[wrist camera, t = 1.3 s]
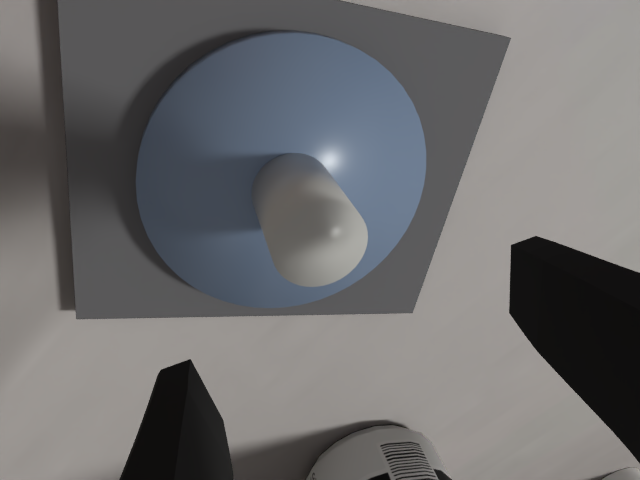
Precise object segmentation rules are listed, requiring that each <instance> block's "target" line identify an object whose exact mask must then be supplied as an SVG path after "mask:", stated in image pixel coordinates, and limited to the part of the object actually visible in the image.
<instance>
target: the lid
mask: <svg viewBox="0 0 640 480" xmlns="http://www.w3.org/2000/svg"><path fill="white" fill-rule="evenodd" d="M425 174H426V146H425V138H424V133H423V129H422V125H421V122H420V118H419V116H418V114H417V111H416V109H415V107H414V104H413V102H412V100H411V99H410V97H409V96H408V94H407V92H406V91H405V89H404V88H403V86H402V85H401V84H400V83H399V82H398V80H397V79H396V78H395V77H394V76H393V75H392V73H391V72H389V71H388V70H387V69H386V68H385V67H384V66H382V65H381V64H380V63H379V62H378V61H377V60H375V59H374V58H372V57H370V56H369V55H367V54H366V53H364V52H362V51H361V50H359V49H357V48H355V47H353V46H351V45H349V44H347V43H344V42H342V41H340V40H337V39H335V38H332V37H329V36H325V35H321V34H317V33H313V32H304V31H295V30H284V31H268V32H263V33H257V34H252V35H248V36H245V37H242V38H239V39H236V40H233V41H230V42H228V43H226V44H224V45H222V46H220V47H218V48H216V49H214V50H212V51H210V52H208V53H207V54H205V55H204V56H202V57H201V58H199V59H198V60H196V61H195V62H194V63H192V64H191V65H190V66H189V67H188V68H187V69H185V70H184V71H183V72H182V73H181V74H180V75H179V76H178V77H177V78H176V79H175V80H174V81H173V82H172V84H171V85H170V86H169V87H168V89H167V90H166V91H165V92H164V93H163V95H162V96H161V98H160V99H159V101H158V103H157V104H156V106H155V108H154V110H153V111H152V113H151V115H150V117H149V120H148V122H147V125H146V127H145V130H144V132H143V136H142V140H141V144H140V148H139V153H138V160H137V171H136V195H137V203H138V208H139V212H140V217H141V220H142V223H143V225H144V228H145V231H146V233H147V236H148V238H149V239H150V241H151V243H152V245H153V246H154V248H155V250H156V251H157V253H158V254H159V255H160V257H161V258H162V259H163V260H164V262H165V263H166V264H167V265H168V266H169V267H170V268H171V269H172V270H173V271H174V272H175V273H176V274H177V275H178V276H179V277H180V278H182V279H183V280H184V281H186V282H187V283H188V284H190V285H191V286H193V287H194V288H196V289H198V290H200V291H201V292H203V293H205V294H207V295H209V296H212V297H214V298H217V299H219V300H222V301H225V302H229V303H232V304H236V305H241V306H248V307H254V308H281V307H291V306H297V305H302V304H306V303H310V302H313V301H317V300H320V299H323V298H325V297H328V296H330V295H333V294H335V293H337V292H339V291H341V290H343V289H345V288H347V287H349V286H351V285H352V284H354V283H355V282H357V281H358V280H360V279H361V278H363V277H364V276H365V275H367V274H368V273H369V272H370V271H372V270H373V269H374V268H375V267H376V266H378V265H379V264H380V263H381V262H382V261H383V260H384V259H385V258H386V257H387V256H388V254H389V253H390V252H391V251H392V250H393V248H394V247H395V246H396V245H397V244H398V242H399V241H400V239H401V238H402V236H403V235H404V233H405V232H406V230H407V228H408V226H409V225H410V223H411V221H412V219H413V217H414V215H415V212H416V210H417V207H418V204H419V202H420V198H421V195H422V191H423V187H424V181H425Z"/></svg>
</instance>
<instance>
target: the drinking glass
mask: <svg viewBox="0 0 640 480" xmlns="http://www.w3.org/2000/svg"><path fill="white" fill-rule="evenodd" d="M602 480H640V471H639V470H638V469H637V468H626V469H622V470H618V471H616V472H614V473H612V474H610V475H608V476H606V477H605V478H603V479H602Z"/></svg>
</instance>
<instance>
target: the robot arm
mask: <svg viewBox="0 0 640 480" xmlns="http://www.w3.org/2000/svg"><path fill="white" fill-rule="evenodd" d="M509 313H510V314H511V316H512V317H513V319H514V320H515V322H516V323H517V324H518V326H519V327H520V329H521V330H522V332H523V333H524V334H525V336H526V337H527V338H528V340H529V341H530V342H531V344H532V345H533V346H534V348H535V349H536V350H537V351H538V352H539V354H540V355H541V356H542V357H543V358H544V359H545V360H546V361H547V362H548V363H549V364H550V366H551V367H552V368H553V369H554V370H555V371H556V372H557V373H558V374H559V375H560V376H561V377H562V378H563V379H564V380H565V382H566V383H567V384H568V385H569V386H570V387H571V388H572V389H573V390H574V391H575V392H576V393H577V394H578V395H579V396H580V397H581V398H582V399H583V401H584V402H585V403H586V404H587V405H588V406H589V407H590V408H591V409H592V410H593V411H594V412H595V413H596V414H597V415H598V416H599V417H600V418H601V420H602V421H603V422H604V423H605V424H606V425H607V426H608V427H609V428H610V429H611V430H612V431H613V432H614V433H615V435H616V436H617V437H618V438H619V439H620V440H621V441H622V442H623V444H624V445H625V446H626V447H627V448H628V449H629V450H630V452H631V453H632V454H633V455H634V457H635V458H636V459H637V460H638V462H639V463H640V273H638V272H635V271H632V270H630V269H627V268H624V267H621V266H618V265H616V264H613V263H610V262H607V261H605V260H602V259H599V258H597V257H594V256H591V255H589V254H586V253H583V252H580V251H578V250H575V249H572V248H569V247H567V246H564V245H561V244H558V243H556V242H553V241H550V240H547V239H544V238H540V237H537V236H535V237H532V238H529V239H527V240H524V241H521V242H518V243H515V244H513V245H511V271H510V307H509ZM120 480H233V471H232V464H231V458H230V453H229V448H228V442H227V437H226V432H225V427H224V422H223V419H222V417H221V415H220V413H219V412H218V410H217V408H216V406H215V404H214V402H213V400H212V398H211V397H210V395H209V393H208V391H207V389H206V387H205V385H204V384H203V382H202V380H201V378H200V376H199V374H198V372H197V370H196V369H195V367H194V365H193V363H192V361H191V359H190V360H187V361H184V362H181V363H179V364H176V365H173V366H170V367H167V368H165V369H162V370H161V371H160V372H159V374H158V376H157V379H156V382H155V385H154V388H153V391H152V394H151V397H150V400H149V403H148V406H147V409H146V411H145V414H144V417H143V420H142V423H141V425H140V428H139V431H138V434H137V436H136V439H135V442H134V444H133V447H132V449H131V452H130V454H129V457H128V459H127V462H126V465H125V467H124V470H123V472H122V475H121V477H120Z"/></svg>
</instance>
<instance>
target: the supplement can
mask: <svg viewBox="0 0 640 480" xmlns="http://www.w3.org/2000/svg"><path fill="white" fill-rule="evenodd" d="M306 480H452V479H451V477H450V475H449V473H448V471H447V470H446V468H445V466H444V464H443V462H442V460H441V458H440V457H439V455H438V453H437V451H436V449H435V447H434V446H433V444H432V442H431V441H430V440H429V439H428V438H426V437H425V436H424V435H423V434H422V433H420V432H416V431H412V430H409V429H407V428H403V427H399V426H395V425H386V426H373V427H370V428H367V429H363V430H360V431H357V432H354V433H352V434H350V435H348V436H346V437H345V438H343V439H341V440H339V441H337V442H335V443H334V444H333V445H332V446H331V447H329V448H328V449H327V450H326V451H325V452H324V453H323V454H322V455H320V456H319V458H318V460H317V461H316V463H315V464H314V466H313V468H312V469H311V472H310V474H309V475H308V477H307V479H306Z"/></svg>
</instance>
